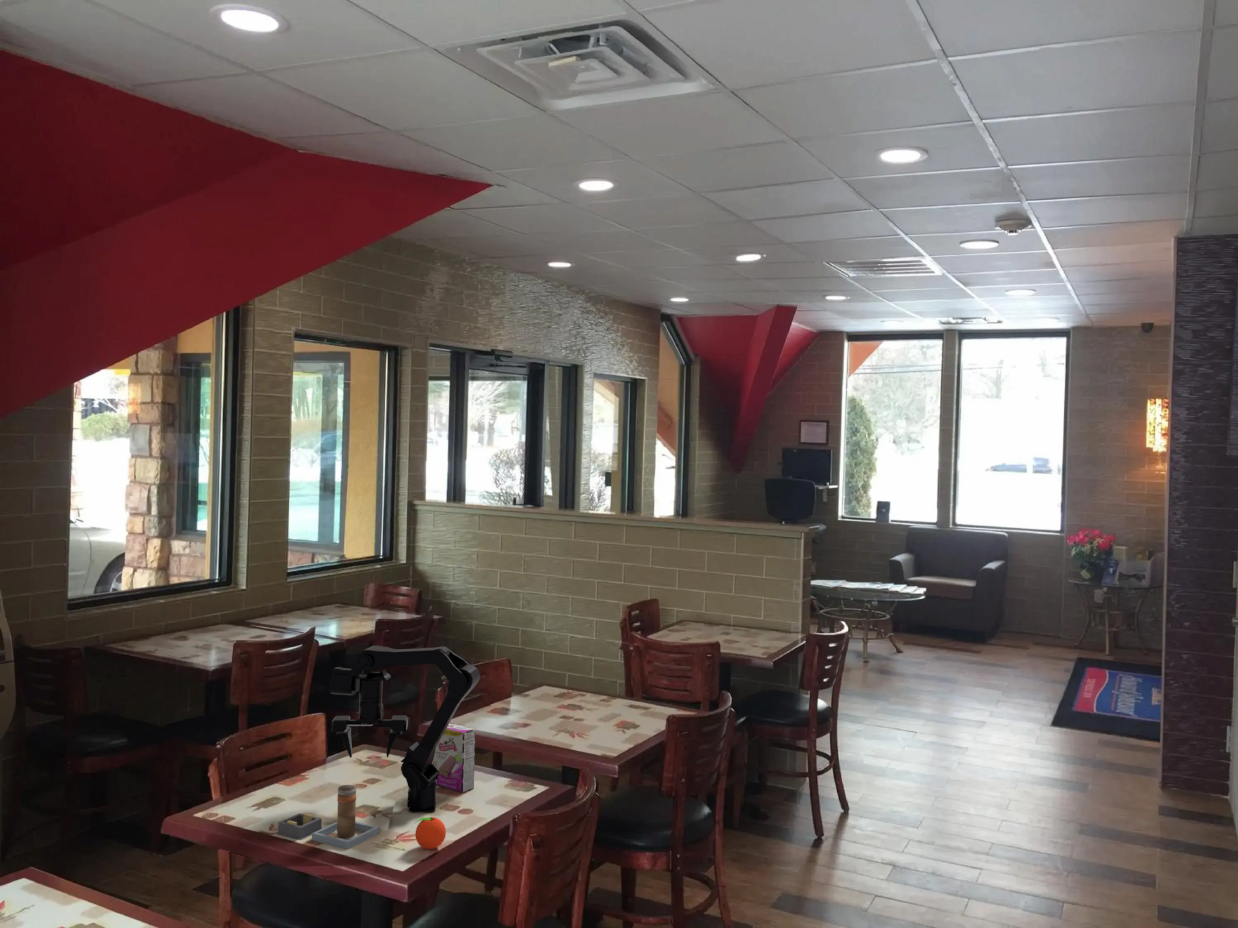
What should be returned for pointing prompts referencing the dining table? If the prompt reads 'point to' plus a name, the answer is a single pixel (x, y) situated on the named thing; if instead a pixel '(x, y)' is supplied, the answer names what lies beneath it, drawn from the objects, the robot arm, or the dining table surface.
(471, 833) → the dining table surface
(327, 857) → the dining table surface
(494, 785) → the dining table surface
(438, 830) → the clementine
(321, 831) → the tray
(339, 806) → the peg
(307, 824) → the socket block
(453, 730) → the candy bar box
